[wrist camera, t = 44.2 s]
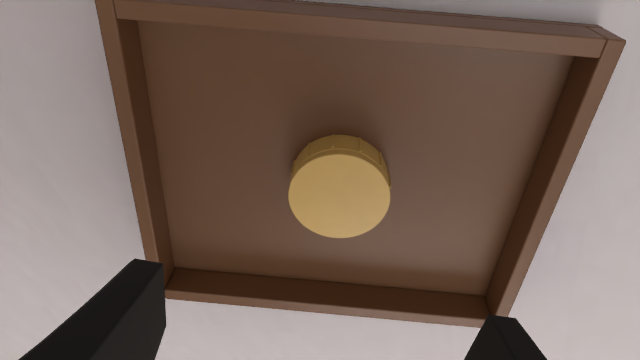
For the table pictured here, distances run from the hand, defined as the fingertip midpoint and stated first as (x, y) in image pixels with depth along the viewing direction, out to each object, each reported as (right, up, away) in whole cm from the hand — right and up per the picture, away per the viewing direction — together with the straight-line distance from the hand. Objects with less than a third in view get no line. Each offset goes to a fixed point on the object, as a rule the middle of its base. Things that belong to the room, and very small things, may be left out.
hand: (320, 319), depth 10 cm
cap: (+1, +3, +7) cm, 8 cm away
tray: (+1, +3, +9) cm, 9 cm away
